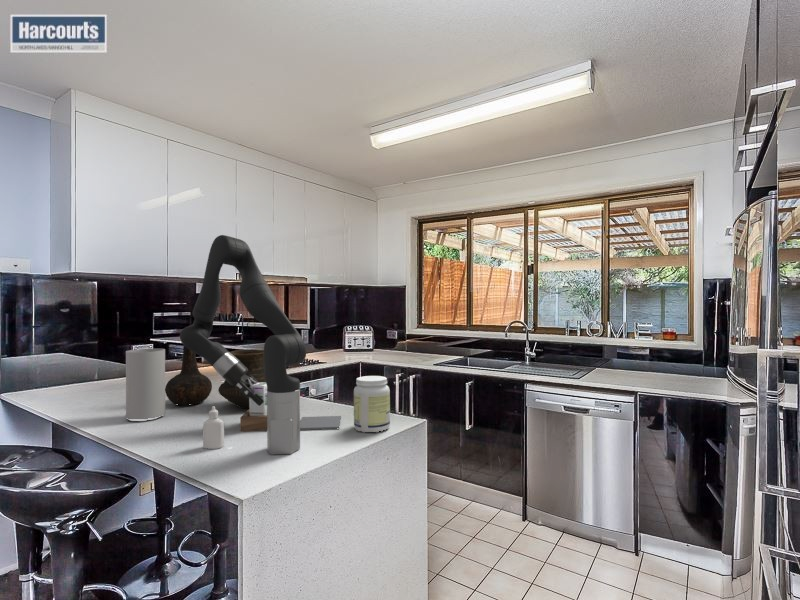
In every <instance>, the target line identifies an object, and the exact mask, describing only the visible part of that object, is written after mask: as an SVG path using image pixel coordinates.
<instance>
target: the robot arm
mask: <svg viewBox="0 0 800 600" xmlns="http://www.w3.org/2000/svg"><path fill="white" fill-rule="evenodd" d="M205 265H206V267H205V269H204V275H203V280H202V286H201V288H200V292H199V294H198V297H197V300H196V302H195V305H194V307H193V309H192V314H191V315H192V318H194V319H193V323H192V324H191V325H188V326H185V327H184V328H182V330H181V331H180V332H179V340H180V341H181V342H182V343H181V344H182V346H183V345H184V346H185V347H187V348H188V349H189V350H191V351H193V352H194V353H195V354H196V355H198V356H199V357H202V358H203V359H204V360H206V362H207V363H208V364H209V365H210V366H211V367H212V368H213V369H214V370H215V371H216V372H217V374H219V375H220V376H221V377H222V379H224V381H225V380H226V381H227V382H228V383H229V384H230V385H234V384H235V383H237V385H236V386H235V387H236V388H237V389H238V390H239V391H240V392H241V393H242V394H243V395H244V396H245V397H246V398H247V399H248V398H250V399H251V398H252V400H253V401H254V402H255V403H256V404H257V405H258V406H260V405H261V404H262V403H263V402H264V400H263V399H262V398H261V397H260V396H259V395H258V394H256V392H255V391H254V387H253V385H254V384H257V383H259V382H258V381H257V380H256V379H255V378H254V377H253V376H252V375H249V376H247V375H246V373H247V371H248V368H246V367H245V366H244V365H243V364H242V363H241V362H240V361H239V360H238V359H237V358H236V357H235V356H234V355H232V354H231V353H230V352H231V351H229V350H228V349H226V347H224V345H222V344H221V343H220V342H218V341H212V340H210V339H209V338H210V336H211V333H212V330H213V326H214V318H215V316H216V314H217V311H218V309H219V307H220V304H221V300H222V292H221V291H222V290H221V285H220V272H221V269H222V267H223V265H227V266H232V267H234V268H235V269H236V270H237V271H238V274H239V275H240V277H241V282H240V285H239V297H240V300H241V302H242V304H243V305H244V308H245V309H246V311H247V312H248V314H249V315H250V316H251V317H253V318H254V319H255V320H257V321H258V322H260V323H261V324H262V325H264V326H266V327H267V328H268V329H269V330H270V331H271V332H272V333H273V334H274V335H270V336H269V337H267V338H266V340H265V341H264V346H263V350H264V370H265V380H266V384H267V430H266V433H267V434H266V435H267V436H266V437H267V438H266V439H267V440H266V441H267V443H266V446H267V447H266V449H267V452H268V453H269V455H291V454H293V453H294V452H298V450H300V448H301V430H300V420H301V382H300V379H299V378H297V377H294V376H290V375H289V374H288V373H287V367H289V366H290V367H291V366H295V365H299V364H301V363H304V360H306V356H307V347H306V343H305V341H304V339H303V337H302V335H301V333H299V331H298V330H297V329H296V327H295V326H294V325H293V323H292V322H291V320H289V318H288V317H287V315H286V314H285V312H284V310H283V309H282V307H281V305H280V304H279V302H278V300H277V298H276V297H275V295H274V293H273V291H272V289H271V287H270V285H269V284H268V283H267V281H266V279H265V278H264V276H263V274H262V272H261V270H260V269H259V267H258V265H257V262H256V260H255V257H254V255H253V252H252V251H251V248H250V246H249V244H248V243H247V242H246V241H244V240H242V239H239V238H236V237H233V236H229V235H225V234H220V235H218V236H216V237H214V240H213V242H212V244H211V246H210V249H209V253H208V257H207V262H206V264H205Z"/></svg>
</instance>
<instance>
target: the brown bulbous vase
mask: <svg viewBox="0 0 800 600" xmlns="http://www.w3.org/2000/svg"><path fill="white" fill-rule="evenodd" d="M181 344H182V347H183V351H182V362H181V363H182V364H181V369H180V373H178V374H176V375H174V377H172V378H170V379H169V380H168V381H167V383H165V396H166V397H167V399H168V400H169V401H170V402H171V403H173V404H174V405H176V404H178V405H177V406H179V405H188V406H190V405H189V404H195V405H197V404H196V403H198V404H200V402H201V403H203V402H204V401H206V399H207V398H208V397H209V396H210V394H211V393H212V390H213V389H212V388H213V385H212V381H211V379H210V377H208V376H206V375H205V374H203V373H201V372H200V370H199V367H198V366H199V365H198V363H197V354H196V353H194V352H193V351H191V350H189V349H188V348H187V347H185V346H184V345H183V343H182V342H181Z"/></svg>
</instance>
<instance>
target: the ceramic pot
mask: <svg viewBox="0 0 800 600" xmlns="http://www.w3.org/2000/svg"><path fill="white" fill-rule="evenodd" d="M229 352H230V353H231V354H232V355H234V356H235V357H236V358H237V359H238V360H239V361H240V362H241V363H242V364H243V365H244V366H245V367H246V368H248V371H247V373H246V375H247V376H249V375H252V376H253V377H254V378H255V379H256V380H257V381H258V382H259V383H262V382H266V380H265V370H264V349H253V348H252V349H250V348H249V349H237V350H231V351H229ZM236 385H237V383H235V384H234V385H230V384H229V383H228V382H227V381H226V380H225V379H224V381H223V382H222V383H221V384H220V385H219V387H218V394H219V395H220V396H221V397H223V398H225V400H226V401H228V402H229V403H232V404H233V405H235V406H237V407H239V408H243V407H244V409H245V408H246V409H248V408H249V398H248V399H247V398H246V397H245V396H244V395H243V394H242V393H241V392H240V391H239V390H238V389H237V388H236V387H235V386H236ZM249 409H250V408H249Z"/></svg>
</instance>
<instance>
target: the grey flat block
mask: <svg viewBox="0 0 800 600" xmlns="http://www.w3.org/2000/svg"><path fill="white" fill-rule="evenodd" d="M340 420H342V416H341V415H326V416H325V415H321V416H319V415H318V416H317V415H316V416H301V417H300V431H321V430H322V429H331V430H338V429H337V428H339V429H340V427H341V426H340V425H341V421H340ZM339 426H340V427H339ZM322 431H323V430H322Z"/></svg>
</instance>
